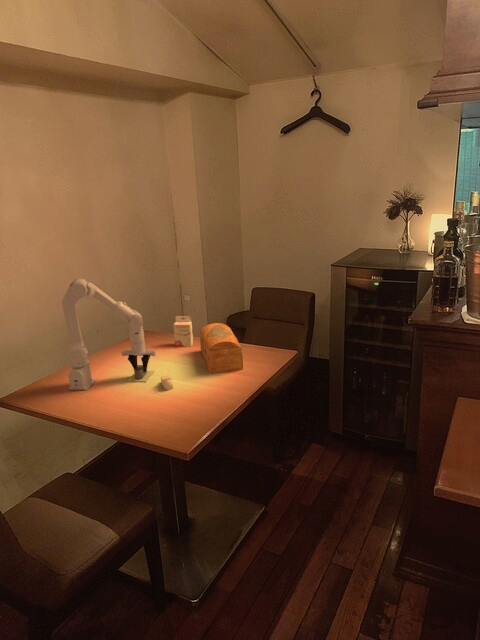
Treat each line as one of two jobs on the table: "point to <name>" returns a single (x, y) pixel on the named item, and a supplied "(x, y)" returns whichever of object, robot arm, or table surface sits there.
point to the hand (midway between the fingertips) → (140, 371)
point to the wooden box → (220, 348)
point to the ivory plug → (166, 382)
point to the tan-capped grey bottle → (139, 372)
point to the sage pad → (144, 379)
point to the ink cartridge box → (183, 331)
